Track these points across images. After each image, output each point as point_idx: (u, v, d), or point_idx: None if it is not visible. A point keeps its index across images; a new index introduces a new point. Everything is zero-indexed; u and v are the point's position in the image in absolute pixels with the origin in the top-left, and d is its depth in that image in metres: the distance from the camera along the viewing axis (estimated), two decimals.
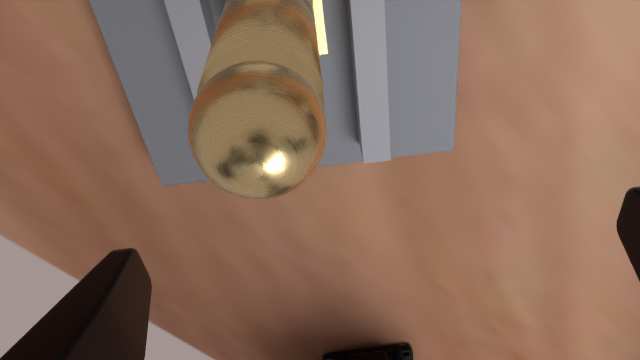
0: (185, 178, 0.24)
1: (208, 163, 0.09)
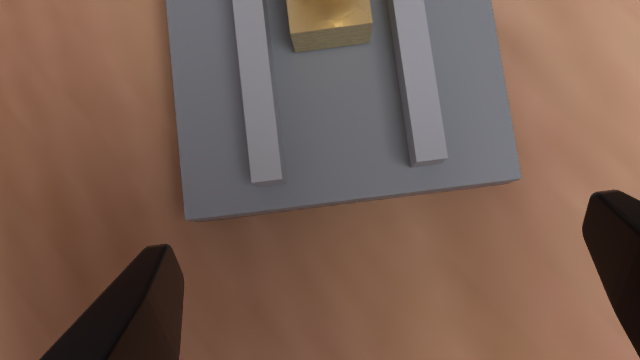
0: (213, 209, 0.21)
1: None
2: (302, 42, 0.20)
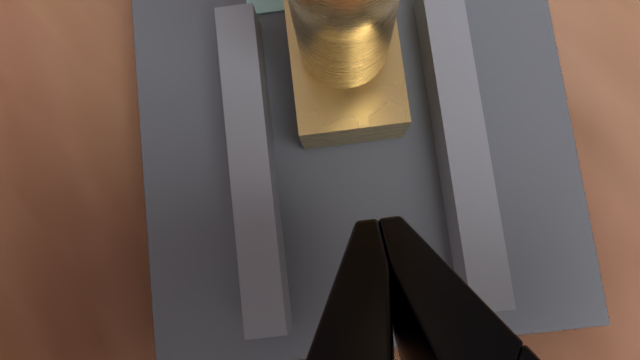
0: None
1: None
2: (314, 141, 0.15)
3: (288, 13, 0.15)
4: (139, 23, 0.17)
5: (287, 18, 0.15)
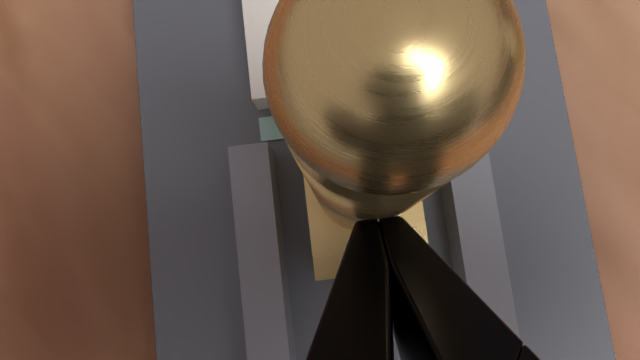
0: None
1: (301, 31, 0.04)
2: None
3: None
4: (149, 148, 0.17)
5: None
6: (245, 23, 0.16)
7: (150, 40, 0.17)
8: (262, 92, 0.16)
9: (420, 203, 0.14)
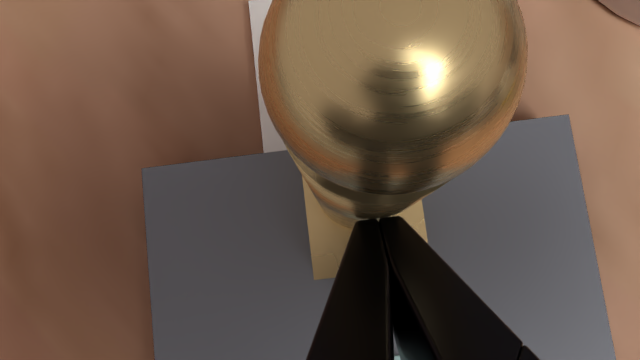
0: None
1: (297, 26, 0.04)
2: None
3: None
4: None
5: None
6: (258, 90, 0.18)
7: (165, 274, 0.16)
8: None
9: (419, 201, 0.14)
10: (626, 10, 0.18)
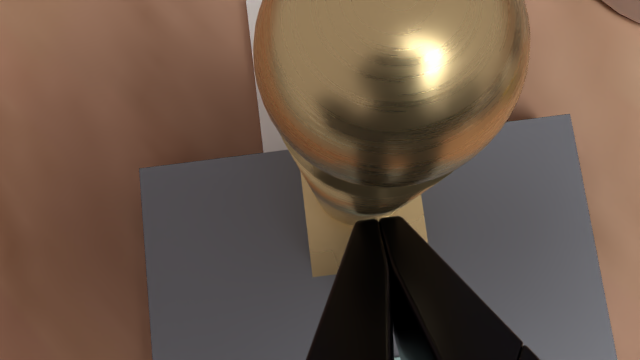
0: None
1: (292, 11, 0.04)
2: None
3: None
4: None
5: None
6: (257, 90, 0.18)
7: (163, 275, 0.16)
8: None
9: (419, 198, 0.14)
10: (628, 8, 0.18)
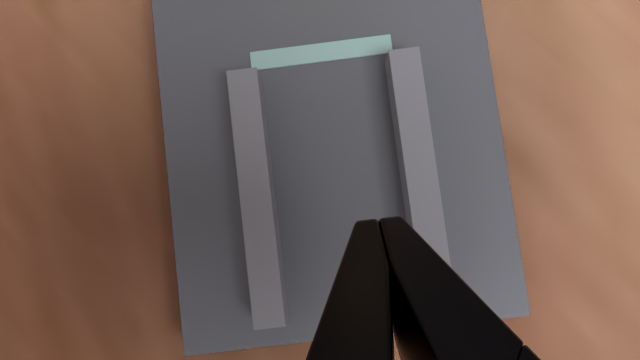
0: (214, 346, 0.20)
1: None
2: None
3: None
4: (163, 76, 0.21)
5: None
6: None
7: None
8: None
9: None
10: None
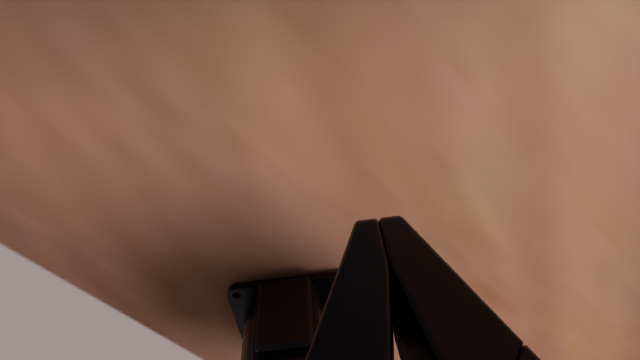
0: None
1: None
2: None
3: None
4: None
5: None
6: None
7: None
8: None
9: None
10: None
